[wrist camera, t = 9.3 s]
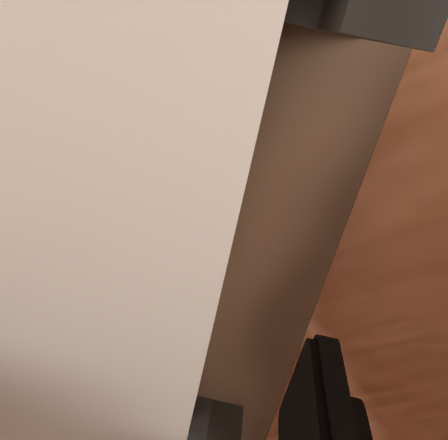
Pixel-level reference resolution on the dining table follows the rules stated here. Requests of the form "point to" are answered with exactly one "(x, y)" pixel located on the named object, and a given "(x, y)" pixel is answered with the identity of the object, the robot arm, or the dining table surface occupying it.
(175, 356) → the slat
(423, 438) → the dining table surface
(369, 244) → the dining table surface
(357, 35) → the end cap frame
